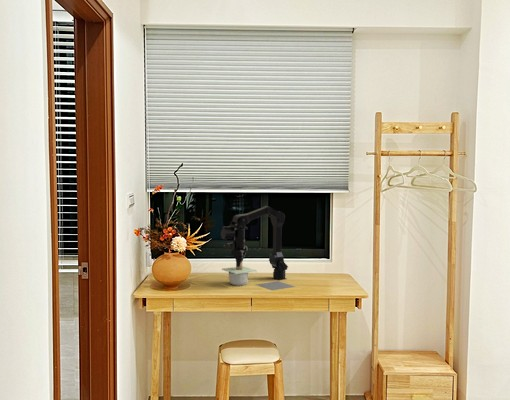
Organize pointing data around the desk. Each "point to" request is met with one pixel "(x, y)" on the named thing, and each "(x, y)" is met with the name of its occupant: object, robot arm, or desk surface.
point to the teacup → (238, 279)
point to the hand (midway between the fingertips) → (239, 265)
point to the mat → (275, 285)
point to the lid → (239, 269)
